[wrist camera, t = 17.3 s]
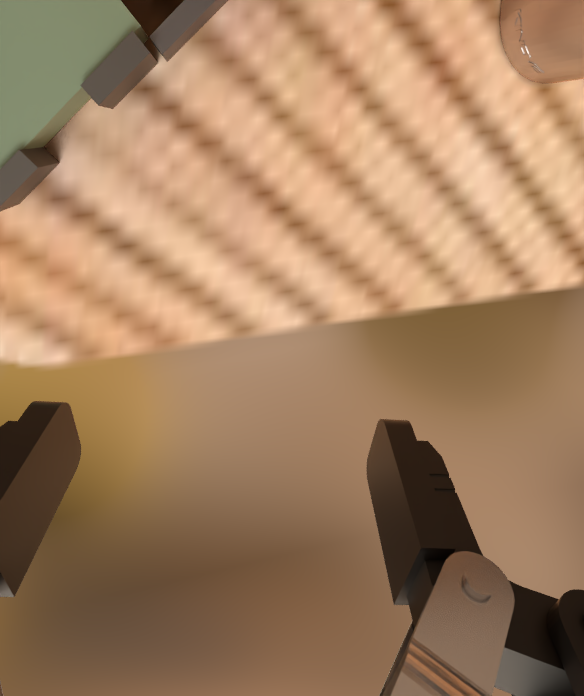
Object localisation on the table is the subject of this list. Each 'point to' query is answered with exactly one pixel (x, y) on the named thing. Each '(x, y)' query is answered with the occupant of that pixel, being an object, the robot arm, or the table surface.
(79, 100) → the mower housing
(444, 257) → the table surface
